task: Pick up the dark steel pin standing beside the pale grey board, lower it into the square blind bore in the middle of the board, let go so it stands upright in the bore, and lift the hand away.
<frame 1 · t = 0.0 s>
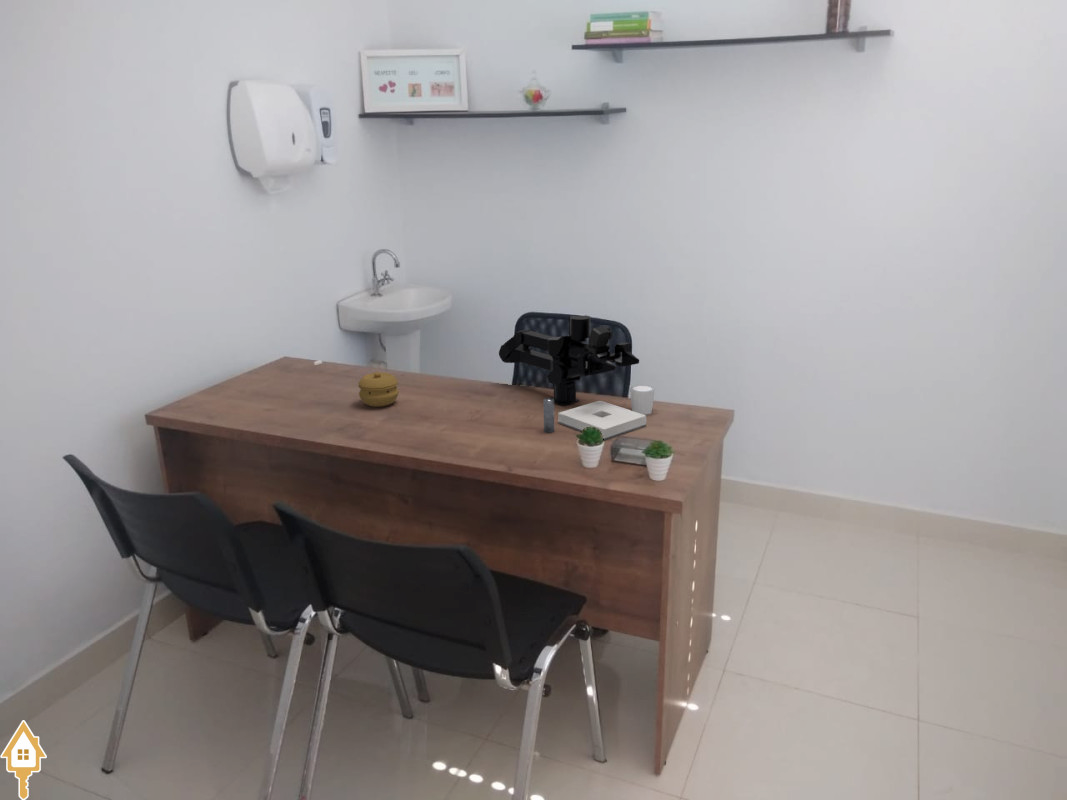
hand: (627, 364, 223), 17 cm above the table, tool horizontal, fingers open, 9 cm apart
white cup: (641, 412, 236), on the table
pot: (379, 404, 247), on the table
steel pin: (549, 431, 223), on the table
bore board: (601, 424, 227), on the table
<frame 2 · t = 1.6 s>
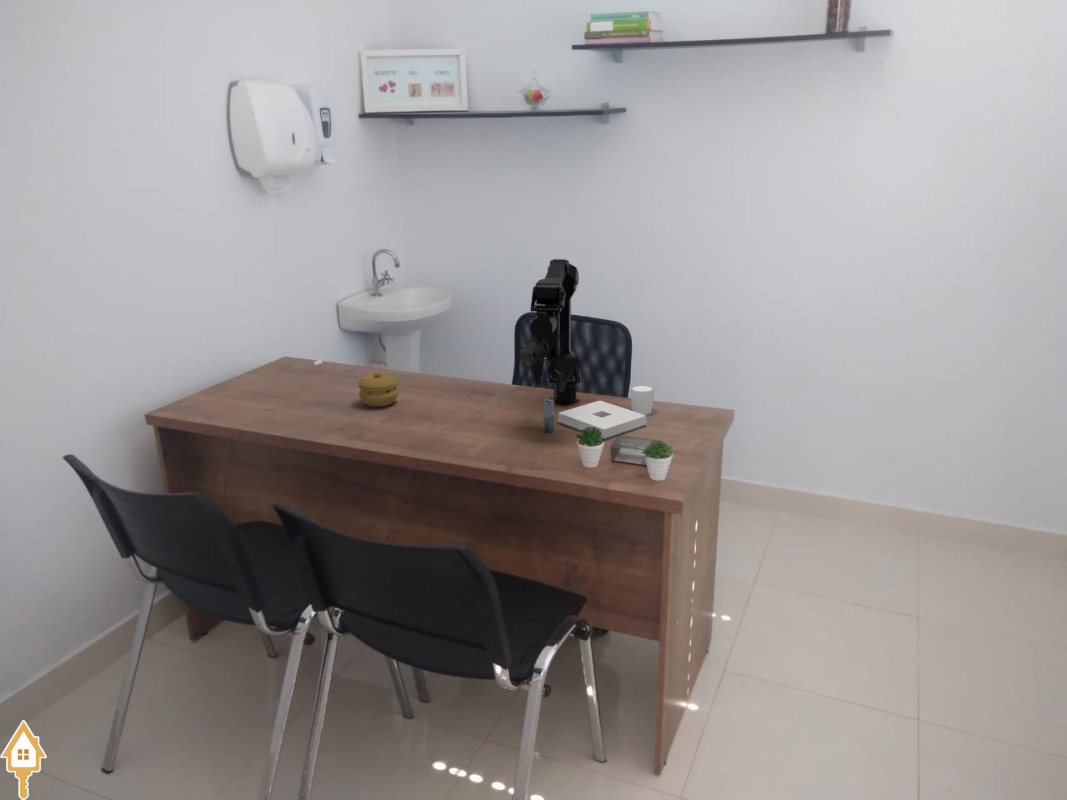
hand: (549, 388, 219), 12 cm above the table, tool pointing down, fingers open, 9 cm apart
nothing on the table moved.
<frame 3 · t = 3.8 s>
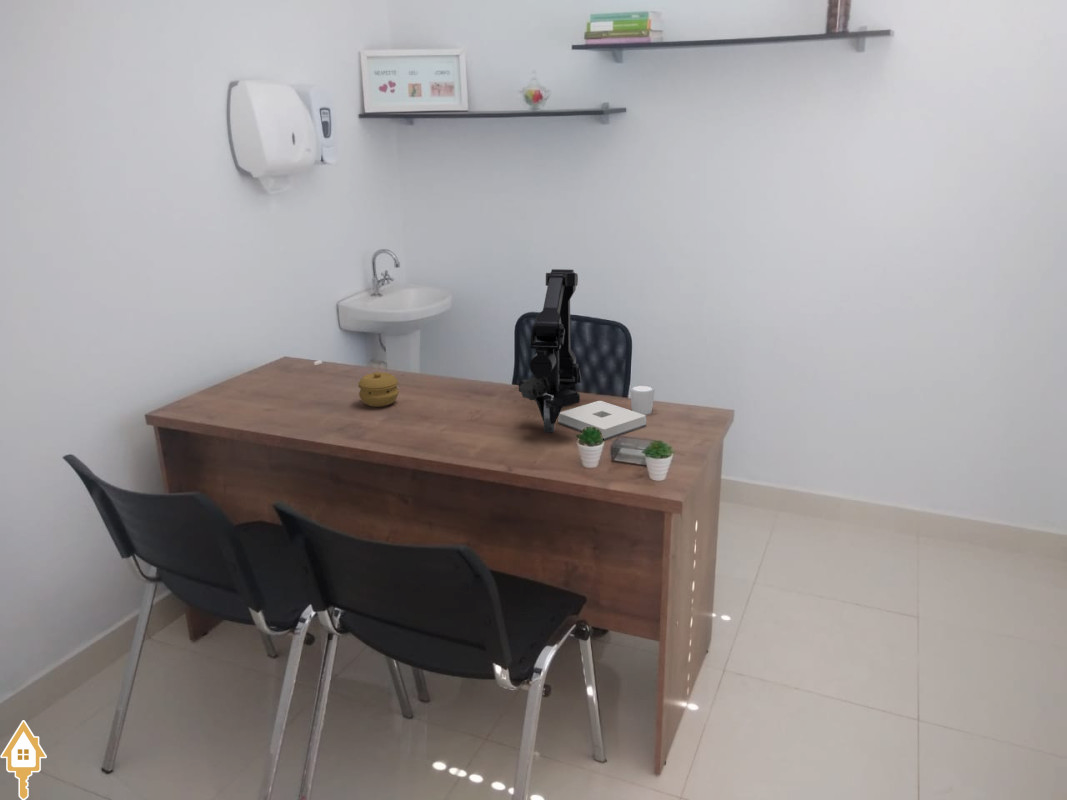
hand: (549, 422, 222), 3 cm above the table, tool pointing down, fingers closed on steel pin, 3 cm apart
steel pin: (549, 431, 223), on the table, touching gripper
everything else where it was.
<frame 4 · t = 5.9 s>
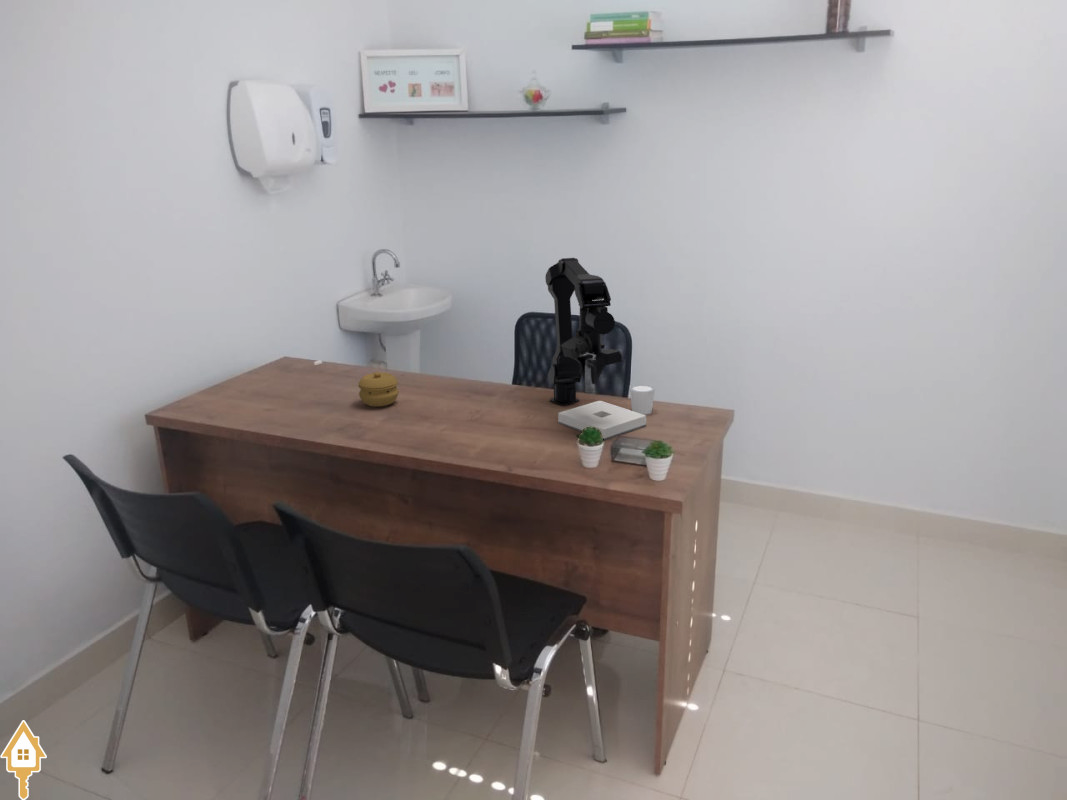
hand: (590, 382, 222), 12 cm above the table, tool pointing down, fingers closed on steel pin, 3 cm apart
steel pin: (589, 391, 223), point 10 cm above the table, touching gripper
everything else where it was.
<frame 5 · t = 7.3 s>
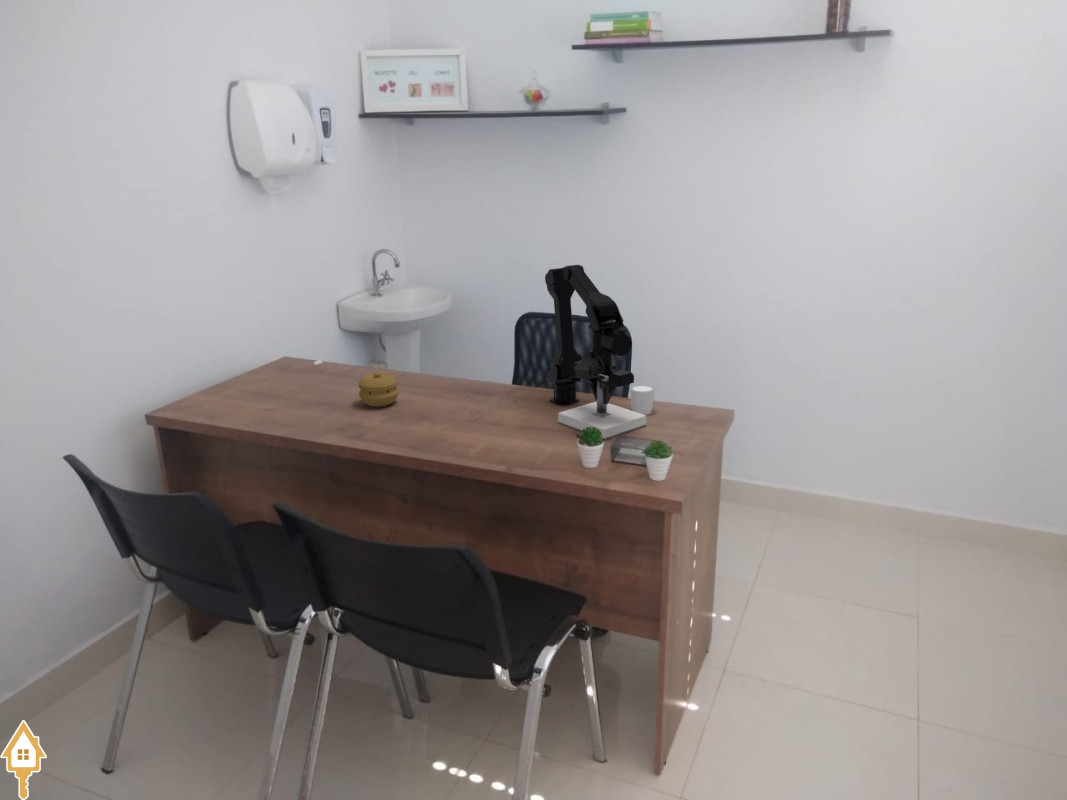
hand: (601, 402, 225), 6 cm above the table, tool pointing down, fingers closed on steel pin, 3 cm apart
steel pin: (601, 411, 226), point 4 cm above the table, touching gripper
everything else where it was.
when the fingers open (4 cm above the table, at t = 8.3 s): steel pin drops 1 cm, resting on bore board.
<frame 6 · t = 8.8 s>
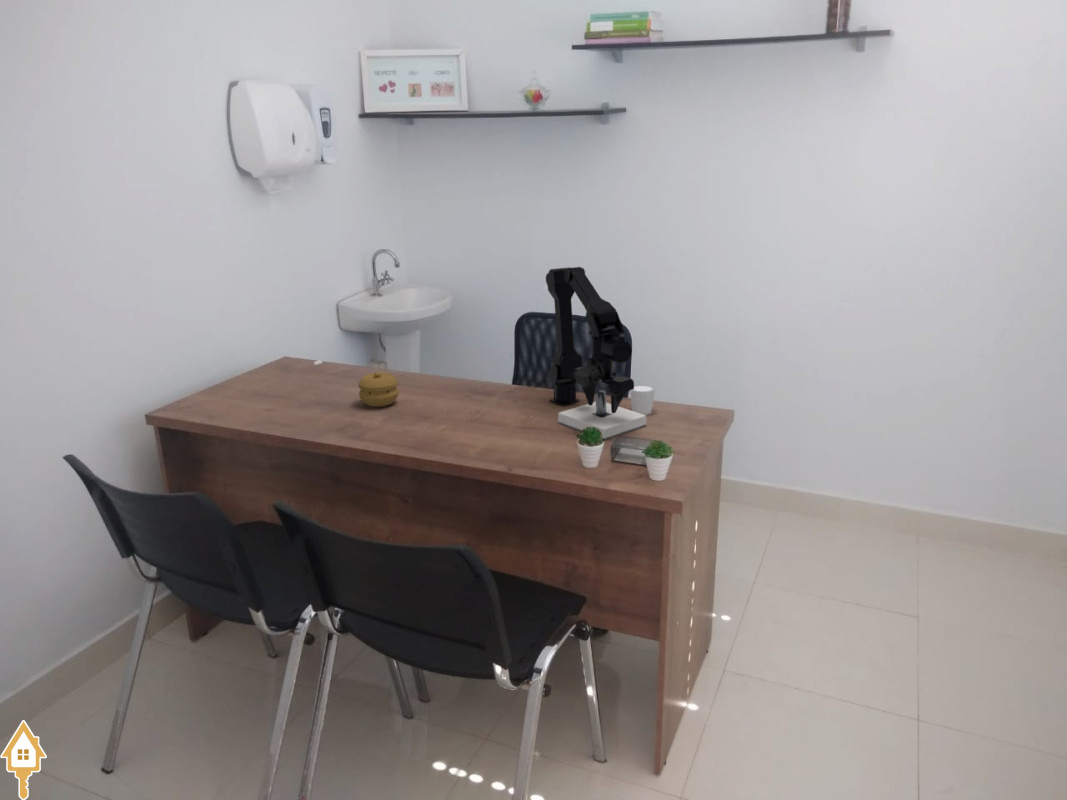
hand: (601, 409, 225), 4 cm above the table, tool pointing down, fingers open, 9 cm apart
steel pin: (601, 422, 226), point 1 cm above the table, touching bore board
everything else where it was.
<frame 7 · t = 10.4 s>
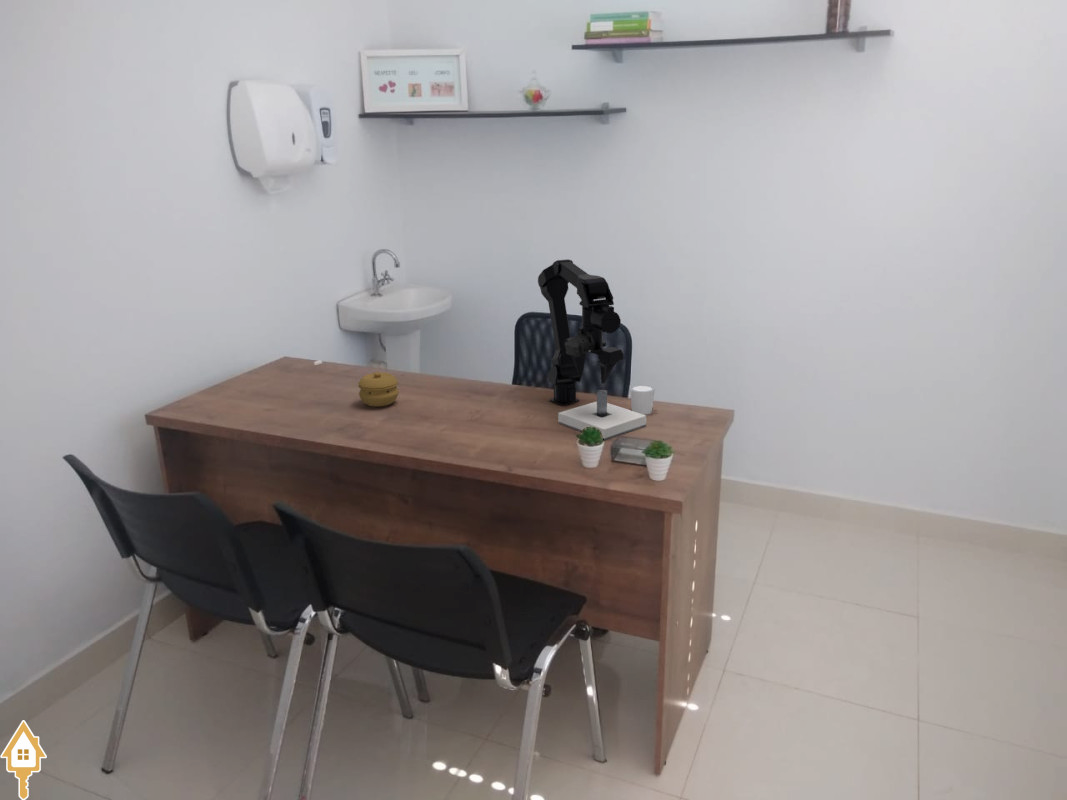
hand: (591, 379, 228), 12 cm above the table, tool pointing down, fingers open, 9 cm apart
nothing on the table moved.
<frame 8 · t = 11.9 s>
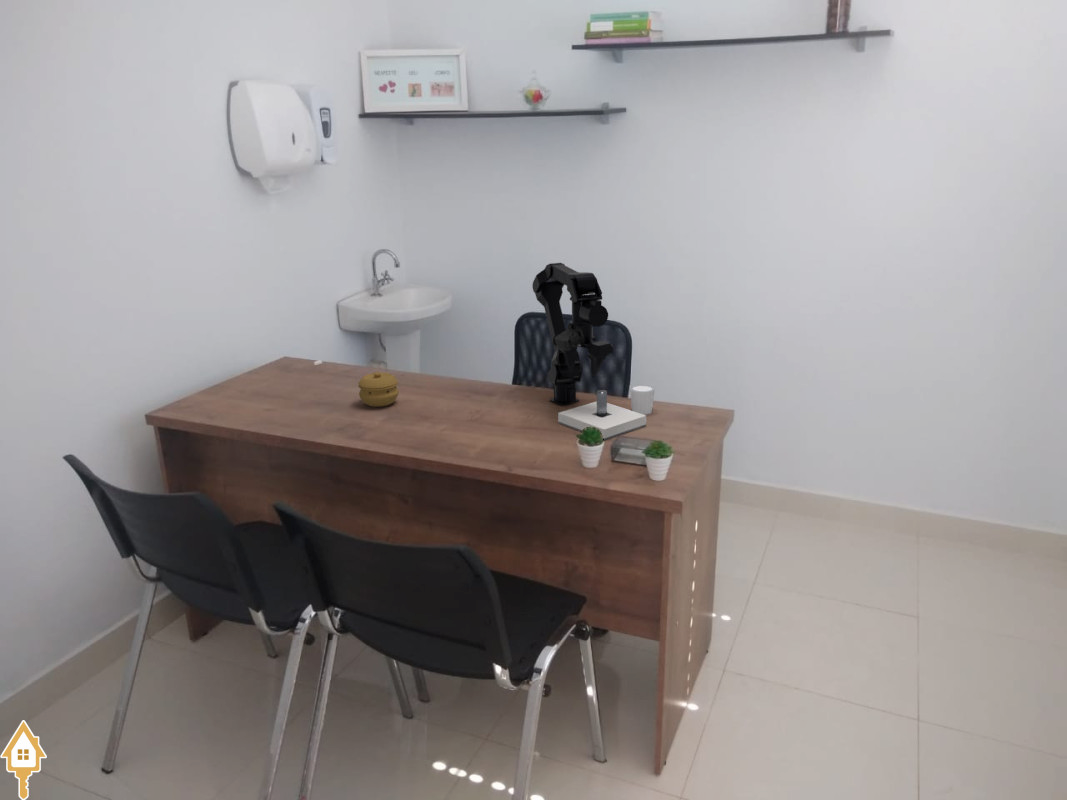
hand: (582, 373, 231), 12 cm above the table, tool pointing down, fingers open, 9 cm apart
nothing on the table moved.
at the end: steel pin 0.0 cm off-centre on the bore board, point 0.5 cm above the bore board's base; steel pin tilted 1°; the gripper is holding nothing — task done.
